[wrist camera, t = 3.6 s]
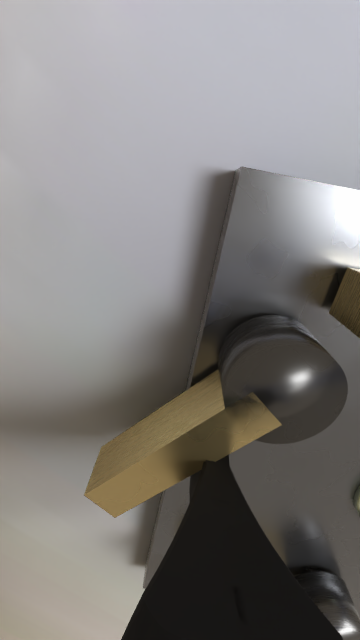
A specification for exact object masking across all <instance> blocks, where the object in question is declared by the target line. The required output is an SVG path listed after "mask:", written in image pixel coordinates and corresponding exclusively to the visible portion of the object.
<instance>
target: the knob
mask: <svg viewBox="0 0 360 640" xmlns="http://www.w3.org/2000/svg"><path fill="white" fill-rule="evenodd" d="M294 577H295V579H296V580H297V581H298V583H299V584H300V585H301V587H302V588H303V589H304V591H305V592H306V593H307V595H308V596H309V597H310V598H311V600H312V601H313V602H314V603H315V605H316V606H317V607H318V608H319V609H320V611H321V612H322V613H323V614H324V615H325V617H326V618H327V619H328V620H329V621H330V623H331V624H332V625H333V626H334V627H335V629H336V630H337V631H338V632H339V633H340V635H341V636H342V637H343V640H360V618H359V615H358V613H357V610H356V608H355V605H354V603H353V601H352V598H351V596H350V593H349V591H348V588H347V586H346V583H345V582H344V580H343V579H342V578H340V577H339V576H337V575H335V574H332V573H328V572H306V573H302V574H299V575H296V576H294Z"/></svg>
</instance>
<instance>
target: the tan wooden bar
mask: <svg viewBox="0 0 360 640" xmlns="http://www.w3.org/2000/svg"><path fill="white" fill-rule="evenodd" d="M329 314H330V315H332V316H333V317H334V318H335V319H336V320H338V321H339V322H340V323H341V324H343V325H344V326H345V327H346V328H347V329H349V330H350V331H351V332H352V333H353V334H355V335H356V336H357V337H358V338H360V269H355V268H349V267H347V270H346V272H345V274H344V277H343V279H342V282H341V284H340V286H339V289H338V291H337V294H336V296H335V299H334V301H333V303H332V306H331V308H330V311H329Z"/></svg>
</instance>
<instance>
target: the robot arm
mask: <svg viewBox="0 0 360 640" xmlns="http://www.w3.org/2000/svg"><path fill="white" fill-rule="evenodd" d="M189 493H190V503H189V506H188V508H187V510H186V513H185V515H184V517H183V519H182V522H181V524H180V526H179V528H178V530H177V532H176V534H175V536H174V538H173V540H172V542H171V544H170V546H169V548H168V550H167V552H166V554H165V556H164V558H163V560H162V561H161V563H160V565H159V567H158V569H157V570H156V572H155V574H154V576H153V577H152V579H151V581H150V582H149V584H148V586H147V588H146V589H145V591H144V593H143V595H142V597H141V599H140V601H139V603H138V605H137V607H136V609H135V611H134V613H133V615H132V617H131V619H130V622H129V624H128V626H127V628H126V630H125V632H124V635H123V637H122V639H121V640H343V637H342V636H341V635H340V633H339V632H338V631H337V630H336V629H335V627H334V626H333V625H332V624H331V623H330V621H329V620H328V619H327V618H326V617H325V615H324V614H323V613H322V612H321V611H320V609H319V608H318V607H317V606H316V605H315V603H314V602H313V601H312V600H311V598H310V597H309V596H308V595H307V593H306V592H305V591H304V589H303V588H302V587H301V585H300V584H299V583H298V581H297V580H296V579H295V577H294V576H293V574H292V573H291V572H290V570H289V569H288V567H287V566H286V564H285V563H284V562H283V560H282V559H281V557H280V556H279V554H278V553H277V551H276V550H275V549H274V547H273V546H272V544H271V542H270V541H269V539H268V538H267V536H266V534H265V533H264V531H263V530H262V528H261V526H260V525H259V523H258V521H257V519H256V518H255V516H254V514H253V512H252V511H251V509H250V507H249V505H248V503H247V501H246V499H245V497H244V495H243V493H242V491H241V489H240V487H239V485H238V483H237V481H236V479H235V477H234V474H233V472H232V470H231V468H230V465H229V455H227V456H225V457H223V458H222V459H220V460H218V461H216V462H215V461H209V460H206V461H205V462H203V466H202V470H200V471H198V472H196V473H195V474H193V475H191V476H190V487H189Z"/></svg>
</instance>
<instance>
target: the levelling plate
mask: <svg viewBox="0 0 360 640" xmlns="http://www.w3.org/2000/svg"><path fill="white" fill-rule="evenodd" d="M347 267H349V268H355V269H360V190H355V189H350V188H345V187H340V186H335V185H330V184H325V183H320V182H315V181H310V180H305V179H300V178H295V177H291V176H286V175H281V174H276V173H271V172H266V171H261V170H256V169H251V168H246V167H240V168H239V169H237V170H236V171H235V176H234V180H233V184H232V189H231V193H230V197H229V202H228V206H227V211H226V215H225V219H224V224H223V228H222V233H221V237H220V241H219V246H218V250H217V254H216V259H215V263H214V268H213V272H212V276H211V281H210V285H209V290H208V294H207V298H206V303H205V307H204V311H203V316H202V320H201V325H200V329H199V333H198V338H197V342H196V347H195V351H194V355H193V360H192V364H191V368H190V373H189V377H188V382H187V386H186V390H188V389H189V388H191V387H192V386H194V385H195V384H197V383H198V382H200V381H201V380H203V379H204V378H206V377H207V376H209V375H210V374H212V373H213V372H215V371H216V370H218V354H219V350H220V347H221V345H222V343H223V341H224V340H225V338H226V337H227V336H228V334H229V333H230V332H231V331H232V330H233V329H235V328H236V327H237V326H238V325H240V324H242V323H243V322H245V321H247V320H250V319H252V318H255V317H259V316H265V315H279V316H285V317H288V318H291V319H293V320H296V321H298V322H299V323H301V324H302V325H303V326H304V327H306V328H307V329H308V330H309V332H310V333H311V334H312V335H313V336H314V337H315V338H316V339H317V340H318V342H319V343H320V344H321V345H322V346H323V347H324V348H325V349H326V350H327V352H328V353H329V354H330V355H331V356H332V357H333V358H334V359H335V360H336V362H337V363H338V364H339V365H340V366H341V368H342V369H343V371H344V373H345V376H346V378H347V384H348V394H347V399H346V403H345V405H344V407H343V409H342V411H341V413H340V414H339V416H338V417H337V418H336V420H335V421H334V422H333V423H332V424H331V425H330V426H328V427H327V428H326V429H325V430H323V431H322V432H320V433H318V434H317V435H315V436H313V437H310V438H308V439H305V440H302V441H299V442H295V443H288V444H270V443H264V442H260V441H256V440H254V441H252V442H250V443H248V444H247V445H245V446H243V447H241V448H239V449H238V450H236V451H234V452H232V453H230V454H229V465H230V468H231V470H232V472H233V474H234V477H235V479H236V481H237V483H238V485H239V487H240V489H241V491H242V493H243V495H244V497H245V499H246V501H247V503H248V505H249V507H250V509H251V511H252V512H253V514H254V516H255V518H256V519H257V521H258V523H259V525H260V526H261V528H262V530H263V531H264V533H265V534H266V536H267V538H268V539H269V541H270V542H271V544H272V546H273V547H274V549H275V550H276V551H277V553H278V554H279V556H280V557H281V559H282V560H283V562H284V563H285V564H286V566H287V567H288V569H289V570H290V572H291V573H292V574H293V576H296V575H299V574H302V573H306V572H328V573H332V574H335V575H337V576H339V577H340V578H342V579H343V580H344V582H345V583H346V586H347V588H348V591H349V593H350V596H351V598H352V601H353V603H354V605H355V608H356V610H357V613H358V615H359V618H360V338H358V337H357V336H356V335H355V334H353V333H352V332H351V331H350V330H349V329H347V328H346V327H345V326H344V325H343V324H341V323H340V322H339V321H338V320H336V319H335V318H334V317H333V316H332V315H330V314H329V311H330V308H331V306H332V303H333V301H334V299H335V296H336V294H337V291H338V289H339V286H340V284H341V282H342V279H343V277H344V274H345V272H346V270H347ZM186 390H185V391H186ZM189 487H190V476H189V477H187V478H186V479H184V480H182V481H180V482H178V483H177V484H175V485H173V486H171V487H169V488H168V489H166V490H164V491H162V496H161V500H160V504H159V509H158V513H157V517H156V522H155V526H154V531H153V535H152V539H151V544H150V548H149V553H148V557H147V561H146V566H145V575H144V583H143V588H145V589H146V588H147V586H148V584H149V582H150V581H151V579H152V577H153V576H154V574H155V572H156V570H157V569H158V567H159V565H160V563H161V561H162V560H163V558H164V556H165V554H166V552H167V550H168V548H169V546H170V544H171V542H172V540H173V538H174V536H175V534H176V532H177V530H178V528H179V526H180V524H181V522H182V519H183V517H184V515H185V513H186V510H187V508H188V506H189V503H190V493H189Z"/></svg>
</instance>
